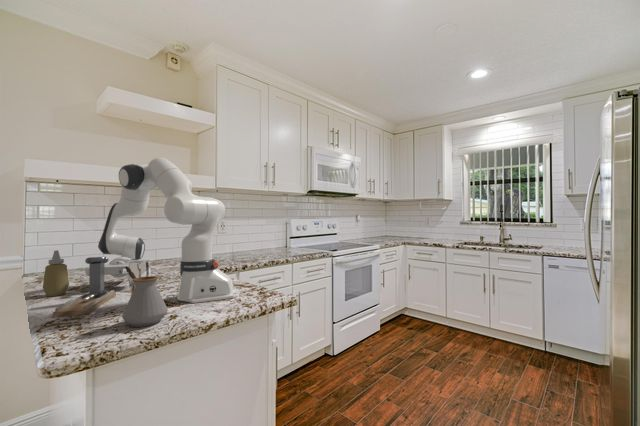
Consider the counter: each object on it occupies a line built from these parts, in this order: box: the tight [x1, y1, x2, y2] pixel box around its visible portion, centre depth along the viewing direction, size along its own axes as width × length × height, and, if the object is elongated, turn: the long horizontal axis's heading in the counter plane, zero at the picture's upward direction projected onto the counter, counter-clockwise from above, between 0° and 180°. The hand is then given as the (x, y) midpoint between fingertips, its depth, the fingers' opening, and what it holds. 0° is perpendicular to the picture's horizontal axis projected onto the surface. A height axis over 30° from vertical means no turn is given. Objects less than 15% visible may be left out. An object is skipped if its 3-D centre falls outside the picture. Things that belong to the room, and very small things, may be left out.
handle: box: [83, 256, 110, 302], centre depth 109 cm, size 7×12×14 cm, turn 16°
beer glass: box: [127, 259, 152, 296], centre depth 107 cm, size 7×7×15 cm
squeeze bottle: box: [42, 250, 70, 297], centre depth 121 cm, size 8×8×18 cm
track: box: [52, 289, 117, 318], centre depth 105 cm, size 9×24×2 cm, turn 16°
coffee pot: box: [121, 266, 168, 328], centre depth 90 cm, size 21×12×15 cm, turn 51°
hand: (107, 272), depth 122 cm, fingers open, 8 cm apart
